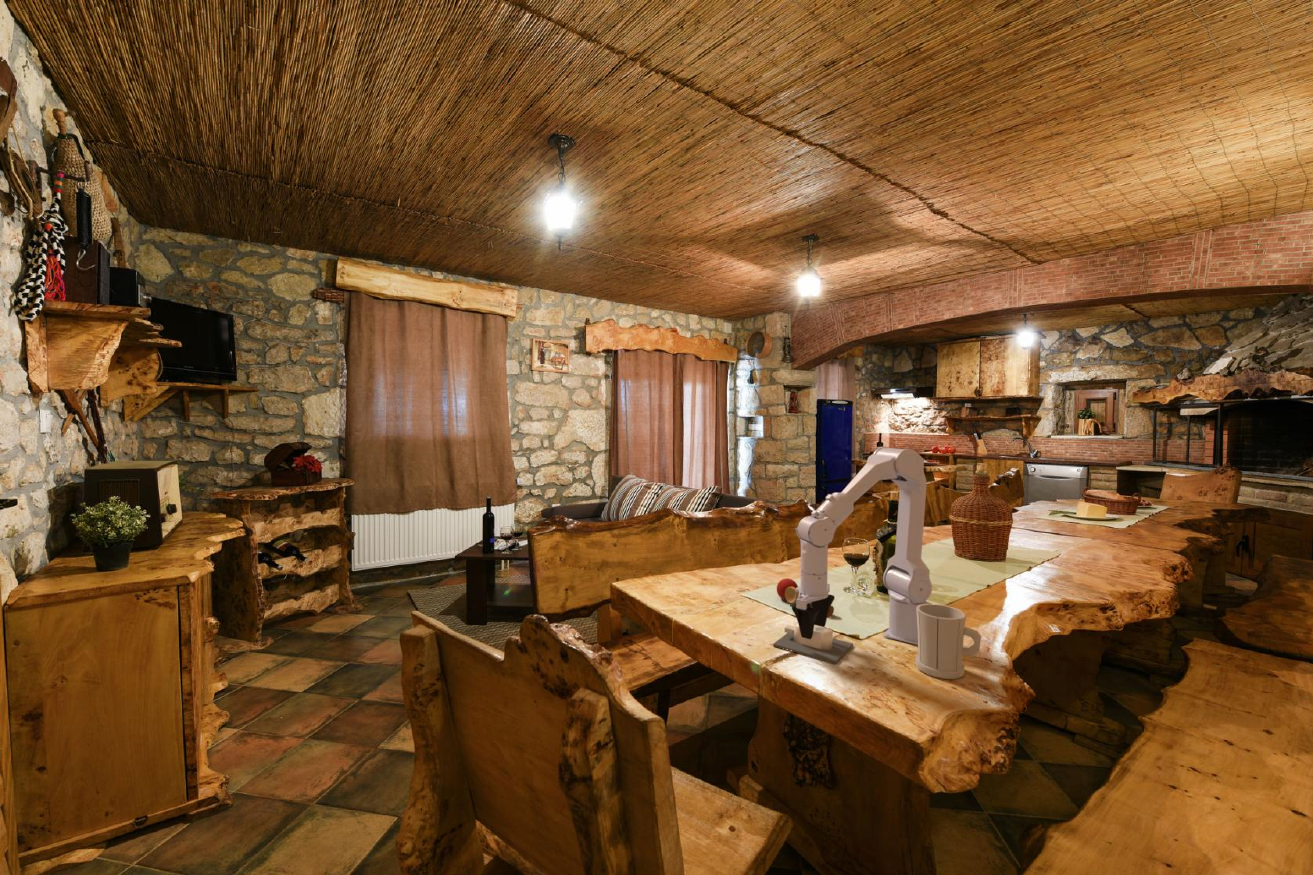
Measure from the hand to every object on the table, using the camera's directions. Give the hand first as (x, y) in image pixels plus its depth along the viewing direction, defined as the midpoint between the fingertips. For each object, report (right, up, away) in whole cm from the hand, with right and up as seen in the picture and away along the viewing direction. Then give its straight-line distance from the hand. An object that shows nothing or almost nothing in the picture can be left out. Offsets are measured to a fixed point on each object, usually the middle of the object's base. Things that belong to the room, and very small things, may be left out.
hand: (813, 632), depth 118 cm
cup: (+23, -4, -11) cm, 26 cm away
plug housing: (0, -3, 0) cm, 3 cm away
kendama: (+5, -3, +26) cm, 26 cm away
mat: (0, -3, 0) cm, 3 cm away
